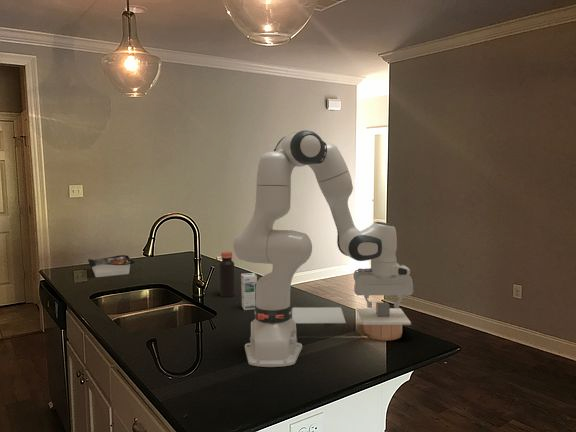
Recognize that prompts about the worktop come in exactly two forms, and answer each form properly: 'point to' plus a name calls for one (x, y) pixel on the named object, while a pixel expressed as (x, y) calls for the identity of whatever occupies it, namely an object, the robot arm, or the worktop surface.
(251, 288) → the syrup box
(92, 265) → the food packaging
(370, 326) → the bowl
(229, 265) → the bottle
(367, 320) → the cover sheet
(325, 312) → the mat
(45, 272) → the worktop surface
